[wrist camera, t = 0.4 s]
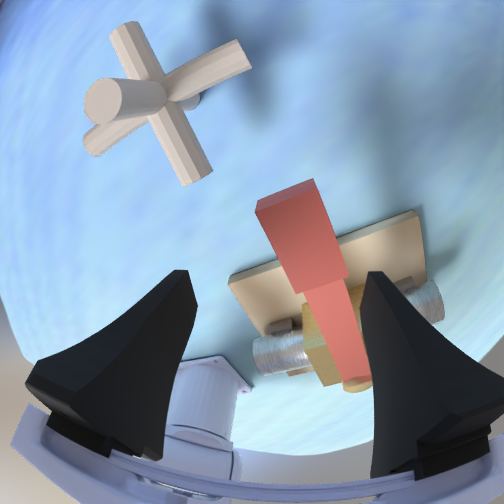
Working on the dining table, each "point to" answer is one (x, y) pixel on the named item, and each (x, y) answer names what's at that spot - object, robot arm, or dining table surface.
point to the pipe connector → (157, 99)
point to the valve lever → (317, 274)
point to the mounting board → (358, 264)
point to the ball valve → (312, 341)
